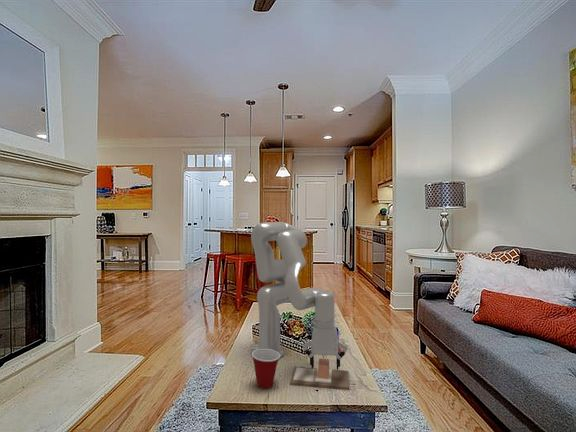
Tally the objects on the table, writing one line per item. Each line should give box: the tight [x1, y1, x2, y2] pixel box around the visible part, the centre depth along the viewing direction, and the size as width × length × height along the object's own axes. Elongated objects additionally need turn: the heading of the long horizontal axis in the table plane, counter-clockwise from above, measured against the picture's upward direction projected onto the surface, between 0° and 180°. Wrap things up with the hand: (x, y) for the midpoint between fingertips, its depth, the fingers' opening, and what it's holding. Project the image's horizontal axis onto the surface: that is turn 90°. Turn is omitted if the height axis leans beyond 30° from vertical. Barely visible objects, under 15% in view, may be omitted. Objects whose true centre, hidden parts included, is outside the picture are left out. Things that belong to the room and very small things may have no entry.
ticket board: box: [289, 366, 350, 391], centre depth 135 cm, size 22×13×2 cm, turn 81°
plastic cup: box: [251, 349, 281, 390], centre depth 130 cm, size 11×11×12 cm
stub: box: [315, 358, 333, 383], centre depth 135 cm, size 6×10×6 cm, turn 171°
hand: (325, 367), depth 134 cm, fingers open, 9 cm apart
